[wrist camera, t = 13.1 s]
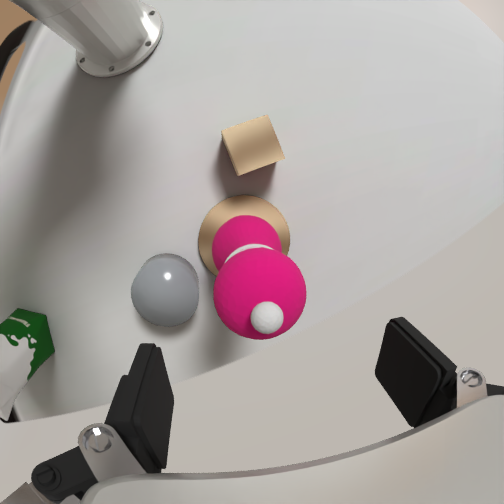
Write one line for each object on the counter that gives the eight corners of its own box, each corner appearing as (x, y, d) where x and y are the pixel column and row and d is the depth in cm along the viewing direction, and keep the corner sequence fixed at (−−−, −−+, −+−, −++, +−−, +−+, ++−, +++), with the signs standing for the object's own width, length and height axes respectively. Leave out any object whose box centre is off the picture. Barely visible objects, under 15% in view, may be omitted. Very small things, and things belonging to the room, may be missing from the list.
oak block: (221, 137, 31) (221, 130, 26) (261, 123, 31) (267, 114, 26) (237, 176, 32) (239, 175, 27) (276, 161, 32) (285, 158, 27)
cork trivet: (196, 197, 32) (195, 198, 31) (288, 193, 33) (289, 194, 32) (202, 285, 35) (202, 287, 34) (288, 279, 36) (289, 282, 35)
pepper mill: (283, 225, 33) (359, 288, 14) (258, 278, 35) (296, 389, 15) (228, 200, 32) (231, 233, 13) (204, 256, 33) (180, 355, 14)
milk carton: (49, 310, 34) (-24, 384, 15) (60, 357, 36) (6, 436, 17) (13, 302, 33) (-58, 361, 14) (25, 346, 35) (-31, 412, 16)
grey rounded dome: (130, 296, 34) (122, 309, 30) (151, 242, 33) (145, 251, 29) (184, 320, 36) (182, 336, 32) (209, 270, 35) (210, 282, 31)
